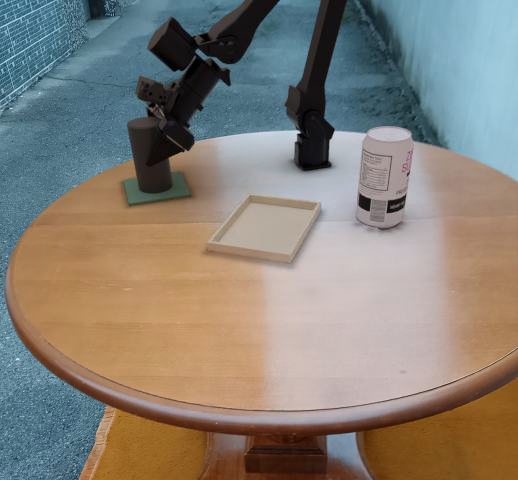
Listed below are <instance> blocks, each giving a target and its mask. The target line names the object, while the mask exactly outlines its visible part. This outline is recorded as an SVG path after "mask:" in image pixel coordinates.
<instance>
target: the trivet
mask: <svg viewBox="0 0 518 480" xmlns="http://www.w3.org/2000/svg"><path fill="white" fill-rule="evenodd" d="M171 176H172V183H173V186H172V188H171V189H169V190H167V191H165V192H161V193H154V194H150V193H144V192H142V191H140V190H139V186H138V181H137V176H136V177H130V178H123V179H122V181H123V185H124V189H125V194H126V198H127V202H128V206H129V207H135V206H141V205H147V204H154V203H161V202H167V201H173V200H178V199H179V200H180V199H185V198H191V197H192V194H191V191H190V189H189V187H188V185H187V183H186V180H185V178H184V176H183V174H182V172H181V171H180V170H177V171H171Z"/></svg>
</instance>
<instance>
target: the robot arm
mask: <svg viewBox="0 0 518 480" xmlns="http://www.w3.org/2000/svg"><path fill="white" fill-rule="evenodd" d="M280 1H281V0H243V2H241V4H240V5H239V6H238V7H236V8H235V9H233V10H232V11H230V12H229V13H227V14H225V15H224V16H222V17H221V18H220V19H219V20H218V21H217V22H215V23H214V24H213V25H212V26H211V27H210V28H209V30H208V31H206V32H202V33H197V34H195V35H191V34H190V33H189V32H188V31H187V30H186V29H185V28H184V27H183V26H182V25H181V23H180V22H179V20H177V19H176V18H175V17H174V16H173V15H170V16H169V17H168V19H167V20H166V21H165V22H163V23H162V24H161V25H160V26H159V28H156V29H155V31H154V33H153V34H152V35H151V37H150V39H149V41H148V44H147V49H146V50H147V51H148V52H149V53H151V54H152V55H154V57H155V58H157V59H158V60H159V61H160V62H161V63H163V65H164V66H166V68H168V69H169V70H170V71H171V72H173V73H176V72H177V71H180V72H183V73H182V74H181V76H180V77H179V79H178V80H172V81H171V82H170V83H169V84H168V85H167V84H164V83H162V82H161V81H157V80H156V79H152V78H149V77H146V76H143V75H139V76H138V80H137V83H136V87H135V91H134V94H135V95H136V99H138V100H140V101H142V102H145V105H146V106H145V111H146V113H145V114H146V117H158V118H161V121H160V123H159V127H160V128H158V127H156V129H157V136H158V139H157V141H156V143H155V145H154V147H153V148H152V150H151V152H150V154H149V156H148V158H147V160H146V162H145V164H146V165H147V166H148V167H152V166H154V165H156V164H158V163H160V162H162V161H164V160H165V159H168V158H169V159H170V158H171V157H173V156H176V155H178V154H181V153H183V154H184V153H185V152H190V151H191V149H192V148H193V147H194V145H195V144H196V139H195V135H194V133H193V132H192V131H191V130H190V129H189V128H190V127H191V126H192V125H191V124H190V121H191V120H192V119H193V118H194V116H195V114H196V113H197V112H198V111H199V112H200V113H201V112H202V111H203V110H204V108H205V106H204V105H203V104H204V102H205V101H206V99H207V98H208V97H209V96H210V94H211V93H212V91H213V90H214V89H215V87H216V86H217V85H218V84H219V82H220V81H221V82H222V83H224V85H226V86H227V87H231V86H232V82H231V69H229V68H228V67H227V66H225V67H221V66H220V65H219V64H218V63H217V62H216V61H215V60H214V59H213V58H216V59H217V60H218V61H219V62H221V63H222V64H225V65H236V64H237V63H239V62H240V61H241V60H242V59H243V58H244V55H245V54H246V52H247V51H248V49H249V47H250V45H251V44H252V43H253V40H254V37H255V35H256V32H257V30H258V28H259V27H260V24H262V22H263V21H265V19H266V18H267V16H269V14H270V13H271V12H272V11H273V9H274V8H275V7H276V6H277V5H278V4H279V3H280ZM348 1H349V0H320V2H319V7H318V11H317V15H316V19H315V22H314V27H313V32H312V35H311V40H310V44H309V47H308V51H307V55H306V59H305V60H306V61H305V64H304V68H303V71H302V76H301V78H300V80H299V82H298V83H297V85H296V86H295V85H292V84H290V85H289V86H288V91H287V98H286V101H285V102H284V105H283V106H284V107H285V108H286V109H285V110H286V111H285V113H286V116H287V118H288V121H290V122H291V123H292V124H293V125H294V128H295V130H296V131H298V132H299V133H296V141H294V149H293V150H294V157H293V161H294V162H295V163H296V164H297V165H298V167H299V168H300V169H301V170H302V171H309V170H318V169H322V168H329V167H332V165H333V163H332V162H331V161H330V143H331V140H332V139H333V136H334V133H335V131H336V129H335V127H334V126H332V124H331V123H330V122H329V121H327V119H326V118H325V115H326V107H327V98H326V82H327V78H328V74H329V71H330V67H331V63H332V59H333V55H334V51H335V49H336V48H335V47H336V44H337V40H338V37H339V34H340V30H341V26H342V22H343V18H344V15H345V10H346V7H347V4H348ZM197 50H199V51H200V52H201V53H202V54H204V56H206V57H208V58H206V59H203V57H201V56H200V55H199V54H198V53H197V52H196V51H197Z"/></svg>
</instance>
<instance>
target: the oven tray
mask: <svg viewBox="0 0 518 480" xmlns="http://www.w3.org/2000/svg"><path fill="white" fill-rule="evenodd" d="M321 211H322V202H321V201H317V200H315V201H314V200H308V199H298V198H290V197H283V196H274V195H267V194H258V193H250V192H248V193H247V194H246V195H244V197H243V199H242V200H241V201H240V202H239V203H238V204H237V206H236V207H235V208H234V209H233V211H232V212H231V213H230V214H229V215H228V216H227V218H226V219H225V220H224V221H223V222H222V223H221V225H220V226H219V227H218V228H217V230H216V231H215V232H214V233H213V235H212V236H211V237H210V238H209V239H208V240H207V242H206V246H207V251H208V252H216V253H222V254H228V255H234V256H239V257H245V258H253V259H258V260H259V259H260V260H266V261H272V262H278V263H285V264H291V263H292V261H293V259H294V258H295V256H296V254H297V253H298V251H299V249H300V248H301V246H302V244H303V242H304V241H305V239H306V237H307V235H308V234H309V232H310V230H311V228H312V227H313V225H314V223H315V222H316V220H317V218H318V216H319V215H320V213H321Z"/></svg>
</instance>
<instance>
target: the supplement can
mask: <svg viewBox="0 0 518 480" xmlns="http://www.w3.org/2000/svg"><path fill="white" fill-rule="evenodd" d="M412 136H413V135H412V132H411V131H410V130H408V129H406V128H404V127H399V126H393V125H392V126H391V125H384V126H376V127H372V128H370V129H368V130H367V131H366V135H365V136H364V138H363V140H362V142H361V153H360V162H359V163H360V165H359V175H358V186H357V196H356V197H357V198H356V209H355V217H356V219H358V221H359V222H360V223H363V224H364V225H366V226H370V227H376V228H377V229H381V230H382V229H389V228H392V227H395V226H397V225H398V224H400V223H401V222H402V220H403V219H404V214H405V208H406V201H407V196H408V188H409V181H410V175H411V168H412V163H413V162H412V161H413V157H414V149H415V143H414V140H413V137H412Z"/></svg>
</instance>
